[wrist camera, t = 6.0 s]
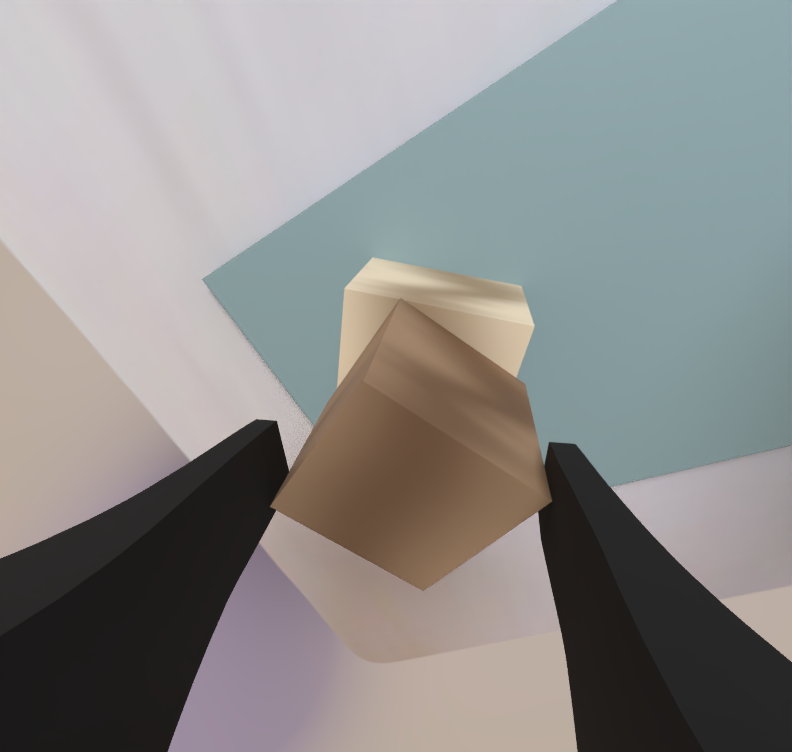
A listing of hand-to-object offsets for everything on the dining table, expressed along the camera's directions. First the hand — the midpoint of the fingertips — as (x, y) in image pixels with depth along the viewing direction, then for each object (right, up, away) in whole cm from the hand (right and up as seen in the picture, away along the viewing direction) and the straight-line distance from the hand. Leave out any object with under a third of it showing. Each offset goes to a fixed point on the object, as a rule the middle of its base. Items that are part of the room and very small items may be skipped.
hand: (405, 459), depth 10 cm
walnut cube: (+1, +2, +3) cm, 4 cm away
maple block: (+1, +4, +7) cm, 8 cm away
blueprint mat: (+5, +4, +7) cm, 9 cm away
